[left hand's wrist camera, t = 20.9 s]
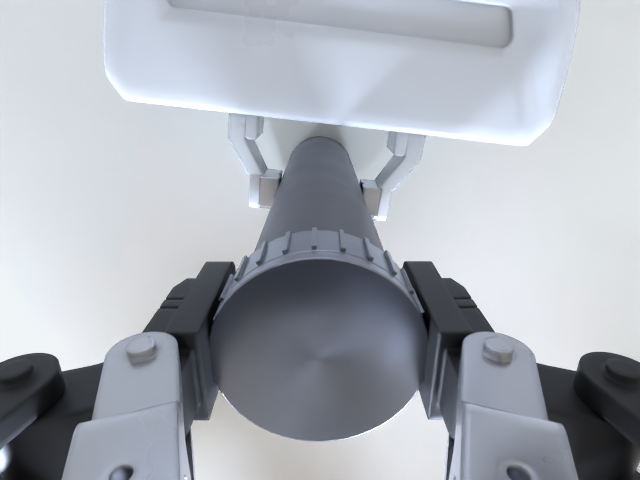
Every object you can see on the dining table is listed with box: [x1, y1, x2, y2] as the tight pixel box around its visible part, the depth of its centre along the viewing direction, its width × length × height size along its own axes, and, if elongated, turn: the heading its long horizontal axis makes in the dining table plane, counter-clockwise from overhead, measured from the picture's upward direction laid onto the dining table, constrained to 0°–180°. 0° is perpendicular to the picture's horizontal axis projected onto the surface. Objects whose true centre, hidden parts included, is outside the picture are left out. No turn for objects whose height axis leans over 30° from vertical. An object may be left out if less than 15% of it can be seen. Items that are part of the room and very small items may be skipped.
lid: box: [209, 227, 428, 441], centre depth 10 cm, size 5×5×2 cm
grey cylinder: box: [254, 137, 384, 252], centre depth 19 cm, size 4×4×19 cm
